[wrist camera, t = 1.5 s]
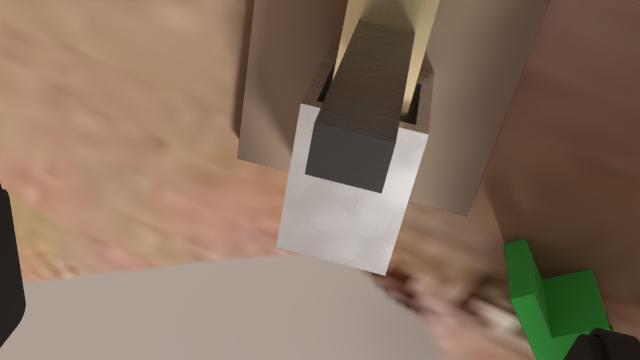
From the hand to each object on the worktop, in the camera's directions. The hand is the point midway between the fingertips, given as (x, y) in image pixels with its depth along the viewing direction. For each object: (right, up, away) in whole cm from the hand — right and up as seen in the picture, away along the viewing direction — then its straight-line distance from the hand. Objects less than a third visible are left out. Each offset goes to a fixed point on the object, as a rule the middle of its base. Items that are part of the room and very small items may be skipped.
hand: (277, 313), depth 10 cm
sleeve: (+3, +5, +19) cm, 20 cm away
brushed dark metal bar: (+3, +7, +15) cm, 17 cm away
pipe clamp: (+15, -5, +25) cm, 29 cm away
